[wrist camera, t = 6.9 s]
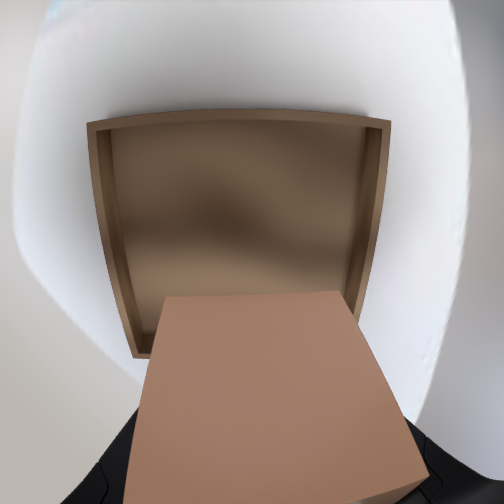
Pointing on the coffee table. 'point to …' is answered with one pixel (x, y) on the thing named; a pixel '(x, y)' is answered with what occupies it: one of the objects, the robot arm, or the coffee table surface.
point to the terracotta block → (267, 408)
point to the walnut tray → (235, 206)
